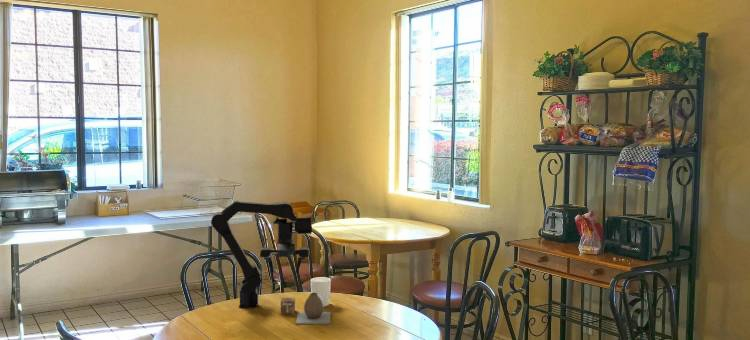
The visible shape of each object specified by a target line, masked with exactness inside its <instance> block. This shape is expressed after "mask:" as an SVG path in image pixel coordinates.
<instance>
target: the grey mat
mask: <svg viewBox="0 0 750 340" xmlns="http://www.w3.org/2000/svg"><path fill="white" fill-rule="evenodd" d="M295 321H296V322H295V325H330V324H331V311H330V312H329V311H323V312H322V314H321V316H320V317H319V318H316V319H310V318H308V317H307V316H306V314H305V311H298V313H297V316H296V320H295Z"/></svg>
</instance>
